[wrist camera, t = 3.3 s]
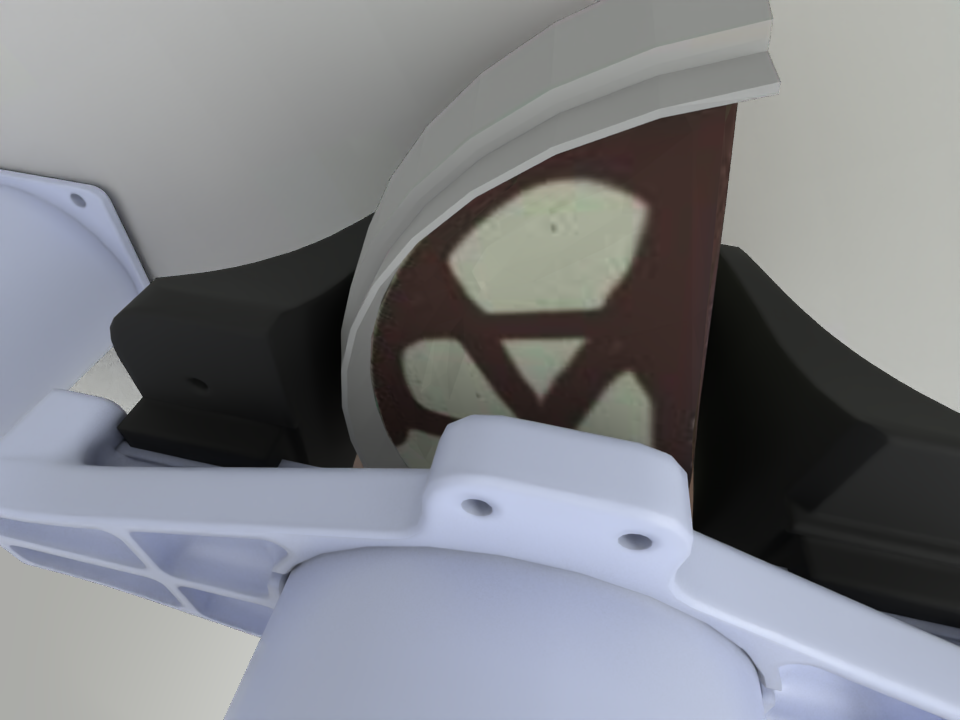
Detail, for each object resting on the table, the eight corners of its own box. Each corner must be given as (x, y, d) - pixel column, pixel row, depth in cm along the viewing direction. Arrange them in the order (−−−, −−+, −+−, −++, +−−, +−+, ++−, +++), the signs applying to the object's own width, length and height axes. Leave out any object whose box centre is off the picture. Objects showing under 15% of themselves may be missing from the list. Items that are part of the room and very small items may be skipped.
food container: (415, -46, 12) (101, 112, 5) (701, -114, 10) (799, -8, 3) (503, 345, 20) (426, 605, 13) (670, 347, 18) (680, 649, 12)
